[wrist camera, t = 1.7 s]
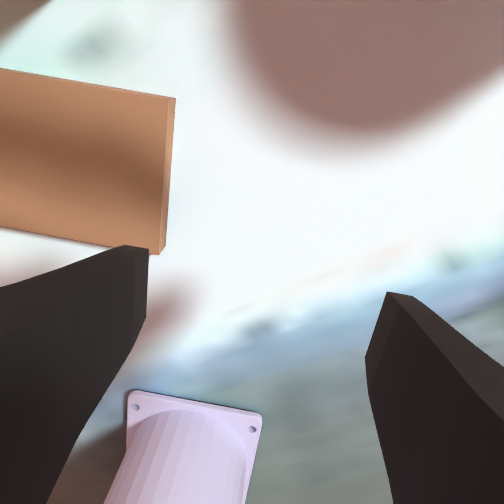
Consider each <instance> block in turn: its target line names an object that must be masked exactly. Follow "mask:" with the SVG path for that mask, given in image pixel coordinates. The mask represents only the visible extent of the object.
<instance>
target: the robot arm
mask: <svg viewBox="0 0 504 504" xmlns="http://www.w3.org/2000/svg"><path fill="white" fill-rule="evenodd" d="M148 263H149V249H147V248H141V247H136V246H130V245H122V246H118V247H115V248H112V249H109V250H107V251H104V252H101V253H99V254H96V255H93V256H91V257H88V258H86V259H83V260H80V261H78V262H75V263H72V264H70V265H67V266H65V267H62V268H59V269H56V270H53V271H50V272H47V273H44V274H41V275H38V276H35V277H32V278H30V279H27V280H24V281H21V282H17V283H14V284H11V285H7V286H4V287H0V504H46V502H47V500H48V498H49V496H50V494H51V492H52V489H53V487H54V485H55V483H56V481H57V479H58V477H59V475H60V473H61V471H62V469H63V467H64V465H65V463H66V460H67V458H68V456H69V454H70V452H71V450H72V448H73V446H74V444H75V442H76V440H77V438H78V437H79V435H80V433H81V431H82V430H83V428H84V426H85V424H86V422H87V421H88V419H89V418H90V416H91V414H92V413H93V411H94V410H95V408H96V406H97V405H98V403H99V402H100V400H101V398H102V397H103V395H104V394H105V392H106V390H107V389H108V387H109V386H110V384H111V382H112V381H113V379H114V378H115V376H116V374H117V373H118V371H119V370H120V368H121V366H122V365H123V363H124V361H125V360H126V358H127V357H128V355H129V353H130V351H131V350H132V348H133V346H134V343H135V341H136V339H137V337H138V335H139V332H140V330H141V328H142V325H143V323H144V321H145V318H146V305H147V284H148ZM365 364H366V377H367V387H368V394H369V399H370V404H371V408H372V412H373V416H374V421H375V425H376V429H377V433H378V437H379V441H380V445H381V449H382V454H383V458H384V462H385V466H386V470H387V474H388V478H389V483H390V488H391V493H392V498H393V504H504V367H503V366H502V365H500V364H499V363H498V362H496V361H495V360H493V359H492V358H491V357H489V356H488V355H487V354H486V353H484V352H483V351H482V350H480V349H479V348H478V347H476V346H475V345H474V344H473V343H471V342H470V341H469V340H468V339H466V338H465V337H464V336H463V335H462V334H460V333H459V332H458V331H457V330H455V329H454V328H453V327H452V326H450V325H449V324H448V323H447V322H446V321H444V320H443V319H442V318H441V317H440V316H438V315H437V314H436V313H435V312H433V311H432V310H431V309H430V308H428V307H427V306H426V305H424V304H423V303H422V302H420V301H419V300H418V299H416V298H414V297H413V296H409V295H404V294H398V293H393V292H387V293H386V296H385V299H384V302H383V305H382V308H381V311H380V314H379V317H378V320H377V323H376V326H375V329H374V332H373V335H372V338H371V341H370V344H369V347H368V350H367V353H366V356H365ZM135 404H137V405H138V406H137V405H135ZM250 426H253V427H250ZM261 426H262V417H261V415H259V414H258V413H255V412H250V411H245V410H239V409H234V408H229V407H223V406H218V405H213V404H207V403H202V402H197V401H192V400H186V399H181V398H176V397H170V396H165V395H160V394H154V393H149V392H144V391H139V390H134V391H132V392H131V393H130V394H129V396H128V403H127V439H126V454H125V456H124V458H123V460H122V463H121V465H120V467H119V470H118V472H117V474H116V476H115V479H114V481H113V483H112V485H111V488H110V490H109V492H108V495H107V497H106V499H105V501H104V504H245V499H246V495H247V490H248V485H249V481H250V476H251V472H252V467H253V463H254V458H255V454H256V449H257V444H258V440H259V435H260V431H261Z"/></svg>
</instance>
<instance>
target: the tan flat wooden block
mask: <svg viewBox="0 0 504 504" xmlns="http://www.w3.org/2000/svg"><path fill="white" fill-rule="evenodd" d="M175 102H176V98H172V97H166V96H161V95H155V94H149V93H143V92H137V91H132V90H126V89H120V88H114V87H109V86H103V85H97V84H91V83H85V82H80V81H74V80H68V79H62V78H56V77H51V76H45V75H39V74H33V73H27V72H22V71H16V70H10V69H4V68H0V226H2V227H8V228H13V229H19V230H24V231H30V232H35V233H40V234H46V235H51V236H57V237H62V238H68V239H73V240H78V241H84V242H89V243H95V244H100V245H106V246H111V247H118V246H122V245H130V246H136V247H141V248H147V249H149V254H154V255H159V254H160V253H161V251H162V250H163V249H164V247H165V245H166V231H167V216H168V202H169V188H170V174H171V159H172V145H173V131H174V117H175Z"/></svg>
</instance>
